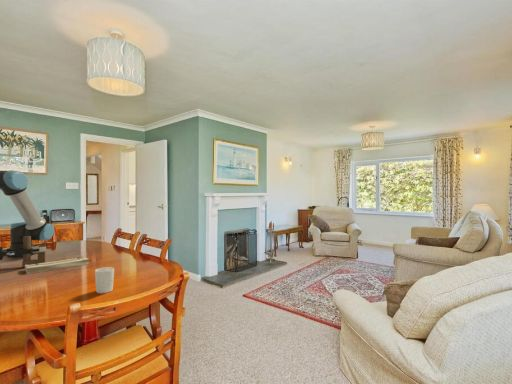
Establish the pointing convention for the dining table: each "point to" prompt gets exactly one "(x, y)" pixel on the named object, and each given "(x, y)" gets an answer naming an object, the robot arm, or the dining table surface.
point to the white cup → (104, 279)
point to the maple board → (56, 265)
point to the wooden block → (27, 257)
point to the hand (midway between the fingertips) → (45, 248)
